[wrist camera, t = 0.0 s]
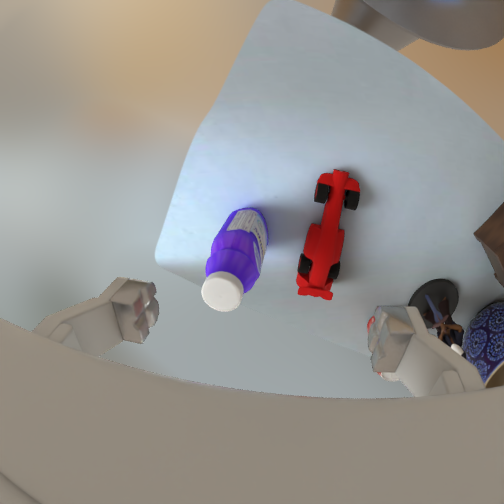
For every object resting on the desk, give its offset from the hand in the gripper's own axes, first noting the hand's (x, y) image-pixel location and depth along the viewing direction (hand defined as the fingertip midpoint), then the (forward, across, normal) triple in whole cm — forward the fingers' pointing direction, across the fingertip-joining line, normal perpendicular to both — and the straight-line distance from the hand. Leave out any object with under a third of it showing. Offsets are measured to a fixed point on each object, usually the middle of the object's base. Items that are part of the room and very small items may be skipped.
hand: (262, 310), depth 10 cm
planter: (+32, -44, +26) cm, 60 cm away
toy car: (+32, -6, +9) cm, 34 cm away
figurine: (+32, -28, +21) cm, 47 cm away
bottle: (+32, +5, +10) cm, 34 cm away
